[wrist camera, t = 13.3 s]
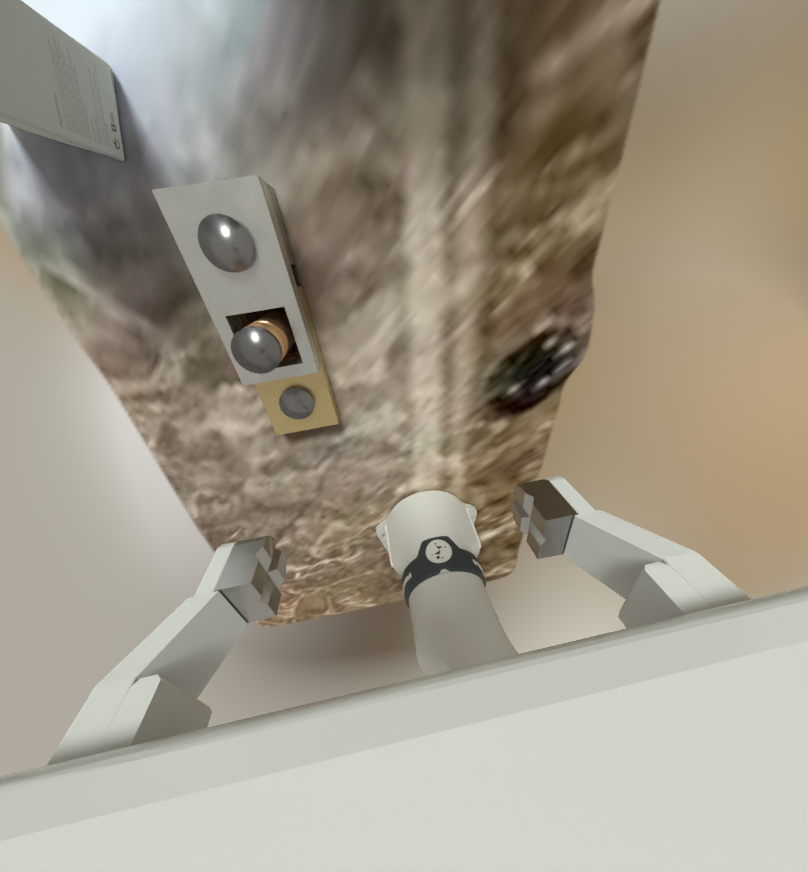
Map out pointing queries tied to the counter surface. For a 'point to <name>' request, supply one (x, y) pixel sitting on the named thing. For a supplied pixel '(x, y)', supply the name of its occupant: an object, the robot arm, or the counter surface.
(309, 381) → the chain joint
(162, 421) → the counter surface
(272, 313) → the pin
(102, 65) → the skincare box
